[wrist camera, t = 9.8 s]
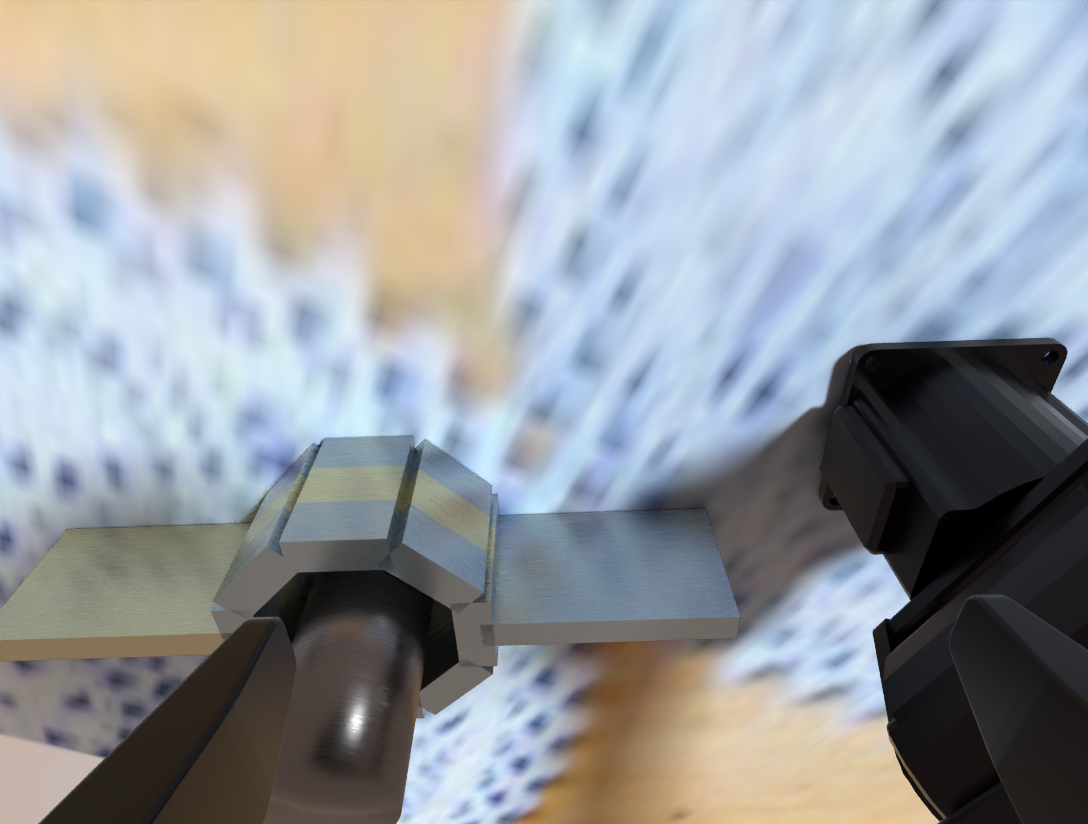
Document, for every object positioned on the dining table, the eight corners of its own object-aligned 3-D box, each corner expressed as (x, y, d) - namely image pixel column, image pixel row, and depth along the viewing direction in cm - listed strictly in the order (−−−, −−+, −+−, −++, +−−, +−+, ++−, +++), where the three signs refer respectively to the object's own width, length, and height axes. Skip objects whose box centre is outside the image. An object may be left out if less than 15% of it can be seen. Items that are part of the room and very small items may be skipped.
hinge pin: (437, 486, 24) (388, 758, 16) (449, 565, 27) (412, 842, 18) (325, 489, 24) (218, 763, 16) (347, 569, 27) (261, 846, 18)
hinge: (716, 425, 23) (757, 526, 19) (693, 596, 28) (722, 708, 23) (22, 448, 23) (-91, 553, 19) (114, 615, 28) (40, 730, 24)
